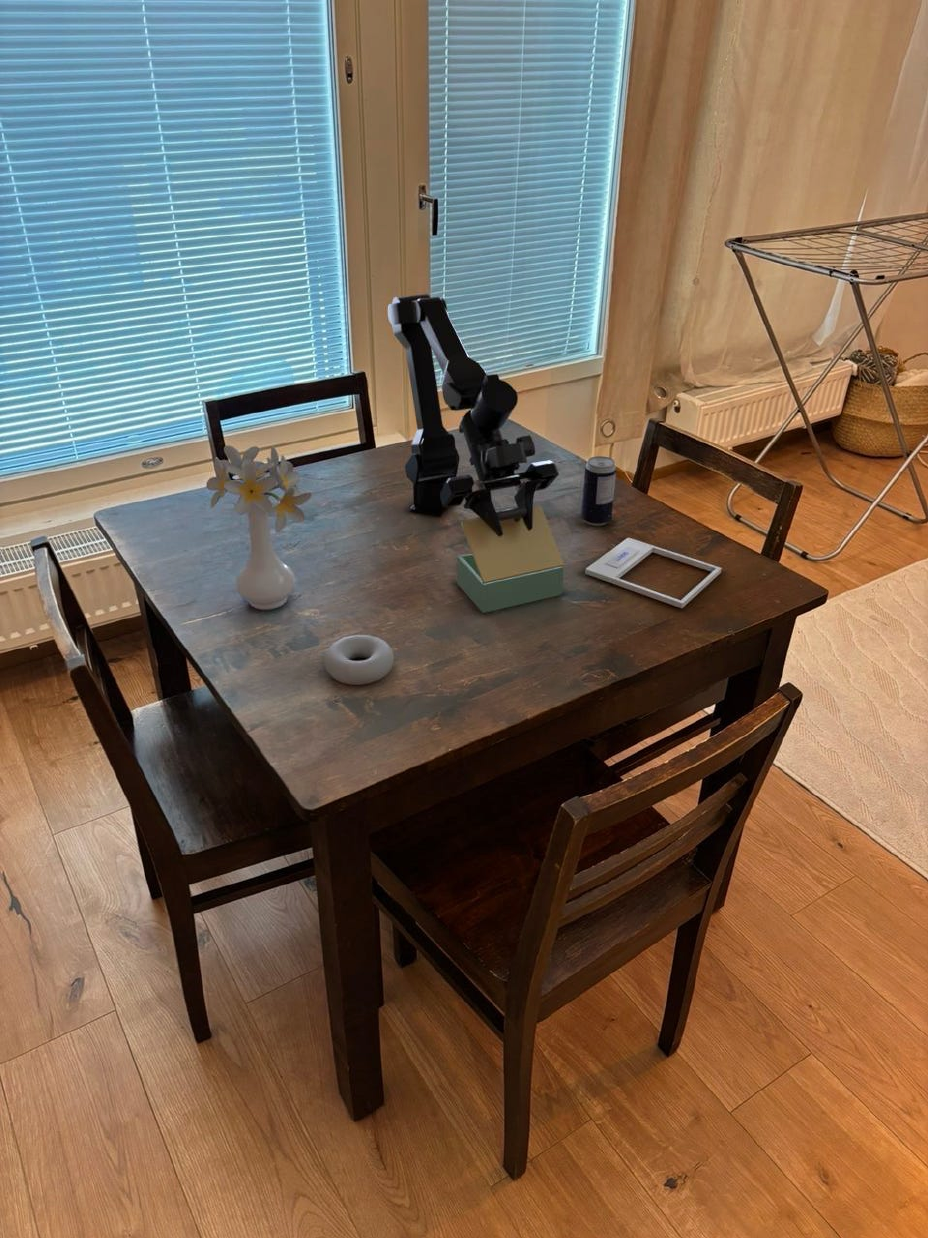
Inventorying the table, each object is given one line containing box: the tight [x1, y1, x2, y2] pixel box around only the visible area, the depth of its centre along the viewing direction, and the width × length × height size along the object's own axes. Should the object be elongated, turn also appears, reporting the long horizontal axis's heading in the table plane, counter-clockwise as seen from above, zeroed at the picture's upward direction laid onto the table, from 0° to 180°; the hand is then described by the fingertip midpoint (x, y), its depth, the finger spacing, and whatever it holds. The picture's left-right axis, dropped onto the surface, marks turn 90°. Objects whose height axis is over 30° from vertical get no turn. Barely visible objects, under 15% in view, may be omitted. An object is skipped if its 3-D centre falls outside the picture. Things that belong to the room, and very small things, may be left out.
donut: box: [323, 634, 395, 686], centre depth 132 cm, size 10×4×10 cm
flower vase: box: [205, 445, 312, 611], centre depth 141 cm, size 13×18×25 cm
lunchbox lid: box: [460, 505, 565, 584], centre depth 145 cm, size 11×14×4 cm
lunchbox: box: [456, 552, 564, 614], centre depth 150 cm, size 10×14×5 cm
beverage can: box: [580, 455, 617, 527], centre depth 170 cm, size 6×6×12 cm
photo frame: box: [584, 537, 723, 609], centre depth 156 cm, size 15×1×18 cm
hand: (515, 532), depth 144 cm, fingers closed on lunchbox lid, 5 cm apart
